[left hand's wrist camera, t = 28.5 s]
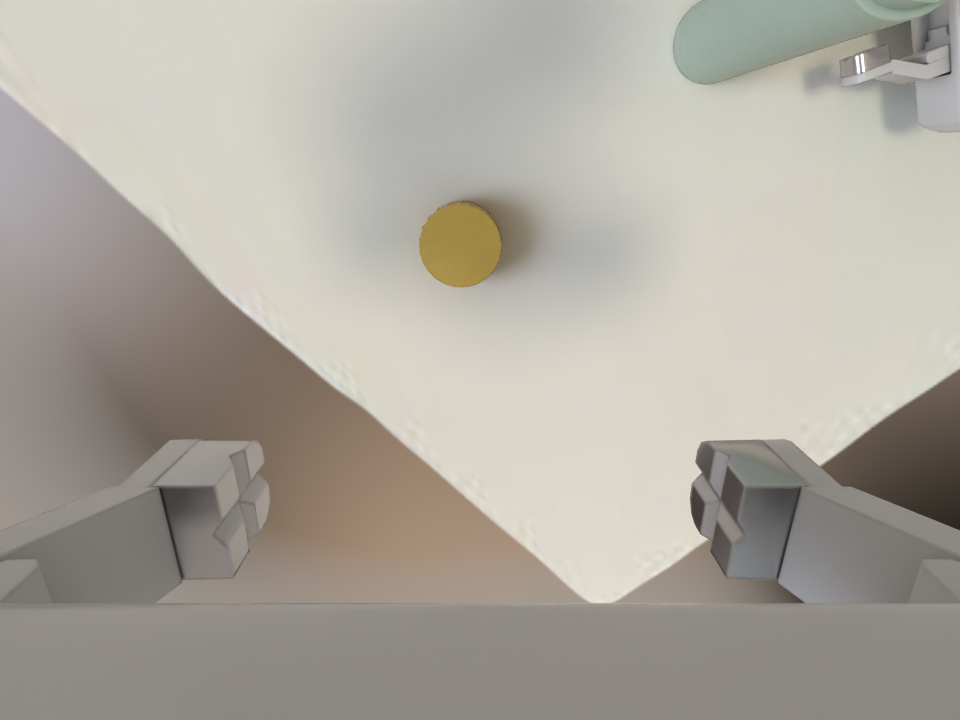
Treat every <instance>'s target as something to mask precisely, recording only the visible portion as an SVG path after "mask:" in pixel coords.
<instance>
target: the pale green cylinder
mask: <svg viewBox="0 0 960 720" xmlns="http://www.w3.org/2000/svg"><path fill="white" fill-rule="evenodd" d="M946 1H947V0H702V1H700V2H699V3H698V4H696V5H695V6H694V7H692V8H691V9H690V10H689V11H688V12H687V13H686V14H685V16H684V17H683V18H682V20H681V22H680V23H679V26H678V28H677V31H676V34H675V38H674V57H675V61H676V63H677V66H678V68H679V69H680V71H681V72H682V74H683V75H684V76H685V77H687V78H688V79H689V80H691V81H693V82H695V83H699V84H713V83H717V82H720V81H723V80H726V79H729V78H732V77H735V76H739V75H742V74H745V73H748V72H751V71H754V70H757V69H760V68H763V67H767V66H770V65H773V64H776V63H779V62H782V61H785V60H788V59H791V58H794V57H798V56H801V55H804V54H807V53H810V52H813V51H816V50H819V49H822V48H826V47H829V46H832V45H835V44H838V43H841V42H844V41H847V40H850V39H854V38H857V37H860V36H863V35H866V34H869V33H872V32H875V31H878V30H881V29H885V28H888V27H891V26H894V25H897V24H900V23H903V22H906V21H909V20H913V19H916V18H919V17H921V16H923V15H926V14H928V13H930V12H931V11H933V10H935V9H936V8H938V7H939V6H941V5H942V4H943V3H945V2H946Z"/></svg>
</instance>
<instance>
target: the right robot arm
mask: <svg viewBox="0 0 960 720" xmlns="http://www.w3.org/2000/svg"><path fill="white" fill-rule="evenodd" d="M911 33H912V46H913V54H911V55H909V56H906V57H904V58H901V59H900V60H895V59H891V56H890V48H889V44H886V45H882V46H879V47H876V48H871V49H868V50H865V51H862V52H860V53H857V54H855V55H853V56H850V57H847V58H844V59H842V60H840V61H839V62H840V72H841V81H842V87H846V86H851V85H855V84H859V83H862V82H865V81H868V80H871V79H876V80H881V81H886V82H890V83H895V84H906V83H912V82H915V87H916V101H917V116H918V122H919V124H920V125H921V126H923V127H925V128H927V129H929V130H932V131H936V132H960V0H947V1H946V2H945V3H943V4H942V5H941V6H939V7H938V8H936V9H935V10H933V11H931V12H930V13H928V14H926V15H923V16H921V17H919V18H916V19H913V20H911Z"/></svg>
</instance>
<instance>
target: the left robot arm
mask: <svg viewBox="0 0 960 720" xmlns="http://www.w3.org/2000/svg"><path fill="white" fill-rule="evenodd" d="M263 464H264V457H263V452H262V447H261V446H260V444H259V443H258V442H257V441H244V440H201V439H187V440H171V441H169V442H168V443H167V444H165V445H164V446H163V447H162V448H161V449H160V450H159V451H158V452H157V453H155V454H154V455H153V456H152V457H151V458H150V459H149V460H148V461H146V462H145V463H144V464H143V465H142V466H141V467H140V468H139V469H137V470H136V471H135V472H134V473H133V474H132V475H131V476H130V477H128V478H127V479H126V480H125V481H124V482H123V483H122V484H121V485H120V486H118V487H108V488H105V489H103V490H100V491H98V492H95V493H93V494H90V495H88V496H85V497H83V498H80V499H78V500H75V501H73V502H70V503H68V504H65V505H63V506H60V507H58V508H55V509H53V510H50V511H48V512H45V513H43V514H40V515H38V516H35V517H33V518H30V519H28V520H25V521H23V522H20V523H18V524H15V525H13V526H10V527H8V528H5V529H3V530H1V531H0V720H960V531H959V530H957V529H954V528H952V527H949V526H947V525H944V524H942V523H939V522H937V521H934V520H932V519H930V518H927V517H925V516H922V515H920V514H917V513H915V512H912V511H910V510H907V509H905V508H902V507H900V506H897V505H895V504H892V503H890V502H887V501H885V500H882V499H880V498H877V497H875V496H872V495H870V494H867V493H865V492H862V491H860V490H857V489H855V488H853V487H842V486H840V485H839V484H838V483H837V482H836V481H835V480H834V479H833V478H832V477H830V476H829V475H828V474H827V473H826V472H825V471H824V470H823V469H822V468H820V467H819V466H818V465H817V464H816V463H815V462H814V461H813V460H812V459H810V458H809V457H808V456H807V455H806V454H805V453H804V452H803V451H801V450H800V449H799V448H798V447H797V446H796V445H795V444H794V443H793V442H791V441H789V440H785V439H773V440H725V441H705V442H701V444H700V446H699V448H698V451H697V456H696V464H697V465H698V467H699V469H700V470H701V472H702V473H701V474H700V475H699V476H698V477H697V478H696V480H695V481H694V482H693V483H692V487H691V495H690V504H691V514H692V517H693V520H694V523H695V525H696V527H697V529H698V531H699V533H700V534H701V535H703V536H704V537H706V538H708V539H709V540H711V541H712V545H711V553H712V555H713V556H714V558H715V560H716V561H717V563H718V565H719V566H720V568H721V570H722V571H723V573H724V575H725V576H726V578H727V579H756V580H778V583H779V584H781V585H782V586H783V587H785V588H786V589H787V590H789V591H790V592H791V593H793V594H794V595H795V596H797V597H798V598H799V599H801V600H802V601H804V602H805V603H155V602H157V601H158V600H159V599H161V598H162V597H163V596H165V595H166V594H167V593H169V592H170V591H171V590H173V589H174V588H175V587H177V586H178V585H180V584H181V583H182V580H203V579H233V578H234V576H235V575H236V573H237V571H238V570H239V568H240V566H241V565H242V563H243V561H244V560H245V558H246V556H247V555H248V553H249V545H248V541H249V540H251V539H252V538H254V537H256V536H257V535H259V534H260V532H261V531H262V529H263V527H264V525H265V523H266V520H267V516H268V512H269V508H270V493H269V487H268V483H267V482H266V481H265V480H264V479H263V477H262V476H261V475H260V474H259V473H258V472H259V470H260V468H261V467H262V465H263Z"/></svg>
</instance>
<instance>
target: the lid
mask: <svg viewBox="0 0 960 720" xmlns="http://www.w3.org/2000/svg"><path fill="white" fill-rule="evenodd" d="M428 219H429V220H428V221H427V222H426V224H425V225H424V226H423V228H422V229H423V230H422V233H421V237H420V239H419V241H420V254H421V258H422V261H423V263H424V265H425V267H426V268H427V270H428V271H429V272H430V274H431V275H432V276H433V277H435V278H436V279H437V280H439V281H440V282H442V283H444V284H447V285H450V286H454V287H468V286H472V285H475V284H478V283H480V282H481V281H483V280H484V279H486V278H487V277H488V276H489V275H490V274H491V273H492V272H493V271H494V269H495V267H496V266H497V264H498V263H499V262H498V261H499V258H500V255H501V252H502V250H501V241H502V238H501V236H500V234H499V230H498V229H499V227H498V224H497V225H496V223H495V221H494V220H493V217H492V215H489V213H488V212H486V211H485V210H484V208H483V207H482V208H481V207H479V206H477V205H475V204H473V202H472V203H468V202H462V201H460V202H454V203H450V202H449V203H448V204H447V205H445V206H443V207H441V208H440V207H439V208H438V209H437V211H436V212H435V213H434V214H433V215H430V216H429V218H428Z"/></svg>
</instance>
